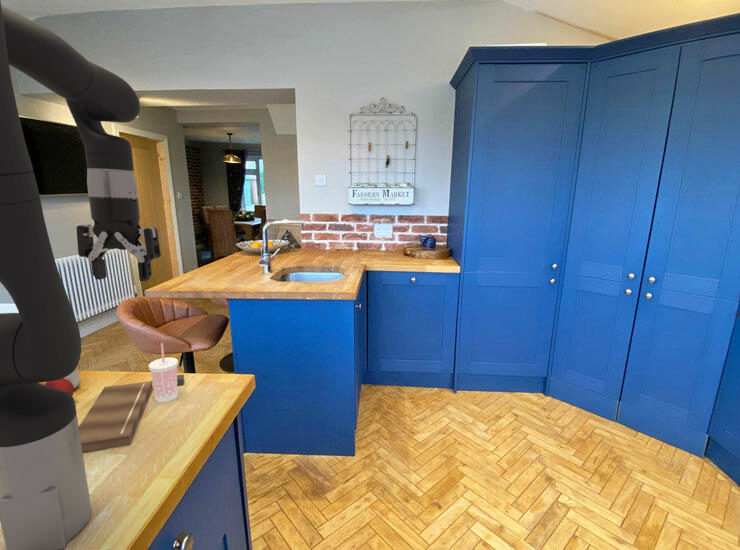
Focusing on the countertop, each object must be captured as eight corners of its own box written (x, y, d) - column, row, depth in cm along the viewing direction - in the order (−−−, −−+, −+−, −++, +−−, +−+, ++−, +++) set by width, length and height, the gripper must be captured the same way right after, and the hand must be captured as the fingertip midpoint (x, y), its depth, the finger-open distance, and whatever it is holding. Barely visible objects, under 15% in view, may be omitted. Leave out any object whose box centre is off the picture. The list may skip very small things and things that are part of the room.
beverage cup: (182, 388, 91) (178, 337, 88) (178, 402, 85) (173, 347, 82) (155, 391, 89) (150, 339, 86) (149, 405, 84) (143, 349, 81)
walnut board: (169, 437, 73) (169, 428, 73) (67, 455, 67) (66, 445, 67) (184, 381, 95) (183, 374, 94) (107, 391, 89) (106, 383, 88)
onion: (56, 416, 78) (51, 383, 77) (35, 412, 79) (29, 379, 78) (82, 401, 84) (77, 370, 82) (62, 398, 85) (57, 367, 83)
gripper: (58, 193, 63) (70, 282, 66) (139, 196, 63) (148, 285, 67) (90, 193, 70) (100, 274, 74) (163, 196, 71) (169, 277, 74)
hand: (123, 279), depth 70 cm, fingers open, 8 cm apart
